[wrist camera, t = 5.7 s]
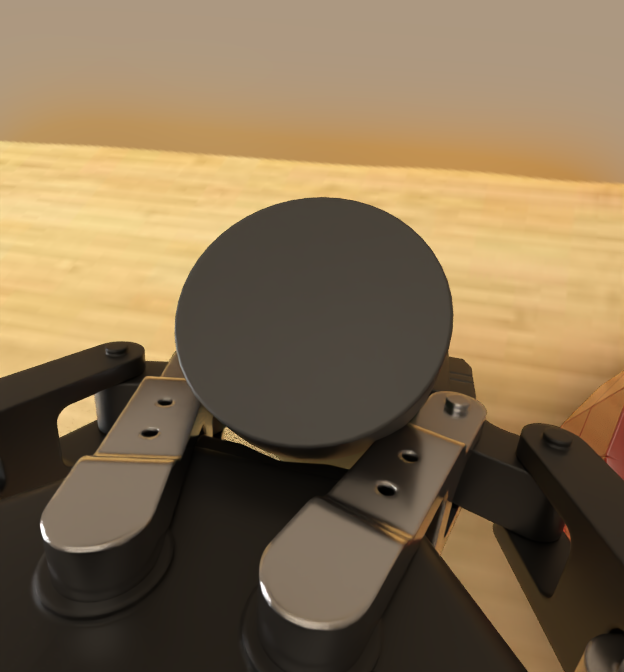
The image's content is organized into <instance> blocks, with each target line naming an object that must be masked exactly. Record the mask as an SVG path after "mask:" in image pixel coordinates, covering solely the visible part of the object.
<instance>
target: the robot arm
mask: <svg viewBox="0 0 624 672" xmlns="http://www.w3.org/2000/svg"><path fill="white" fill-rule="evenodd" d="M473 383H474V382H473V377H472V369H471V367H470V366H469V365H468V364H467V363H466V362H465V361H464V360H463V359H459V358H453V357H449V356H448V352H447V355H446V357H445V360H444V363H443V365H442V368H441V370H440V373H439V375H438V377H437V380H436V382H435V385H434V387H433V389H432V391H431V393H430V394H429V396H428V398H427V400H426V402H425V403H424V404H423V406H422V407H421V408H420V410H419V411H418V412H417V414H416V415H415V416H414V417H413V418H412V419H411V420H410V421H409V422H408V423H407V424H406V425H405V426H404V427H402V428H400V429H399V430H397V431H395V432H393V433H392V434H390V435H388V436H386V437H383V438H381V439H378V440H376V441H374V443H373V444H372V445H371V446H370V447H369V448H368V449H367V450H366V451H365V453H364V454H363V455H362V456H361V457H360V458H359V459H358V460H357V462H356V463H355V464H354V465H353V466H352V467H351V468H350V469H345V468H341V467H337V466H333V465H328V464H316V463H300V462H285V461H279V460H276V459H273V458H271V457H269V456H267V455H264V454H262V453H260V452H258V451H256V450H253V449H251V448H249V447H247V446H244V445H242V444H239V443H235V442H231V441H227V440H224V428H225V427H226V426H225V425H224V424H222V423H221V422H220V421H219V420H218V419H216V418H215V417H214V416H213V415H212V414H211V413H210V412H209V411H208V410H206V408H205V407H204V406H203V405H202V404H201V402H200V401H199V400H198V399H197V398H196V396H195V395H194V393H193V392H192V390H191V388H190V386H189V385H188V383H187V381H186V379H185V377H184V374H183V372H182V369H181V367H180V364H179V360H178V355H177V351H175V352H174V354H173V355H172V357H171V359H170V361H169V362H159V361H145V350H144V347H143V346H141V345H140V344H137V343H133V342H110V343H105V344H102V345H99V346H96V347H93V348H89V349H86V350H83V351H80V352H77V353H74V354H71V355H68V356H65V357H62V358H59V359H56V360H53V361H50V362H47V363H44V364H41V365H38V366H35V367H32V368H29V369H26V370H23V371H20V372H17V373H14V374H11V375H8V376H5V377H2V378H0V672H528V671H527V670H526V668H525V667H524V666H523V664H522V663H521V662H520V661H519V659H518V658H517V657H516V655H515V654H514V653H513V651H512V650H511V649H510V647H509V646H508V645H507V643H506V642H505V641H504V639H503V638H502V637H501V635H500V634H499V633H498V631H497V630H496V629H495V627H494V626H493V625H492V623H491V622H490V621H489V619H488V618H487V617H486V615H485V614H484V613H483V611H482V610H481V609H480V607H479V606H478V605H477V603H476V602H475V601H474V599H473V598H472V597H471V595H470V594H469V593H468V592H467V590H466V589H465V588H464V586H463V585H462V584H461V582H460V581H459V580H458V578H457V577H456V576H455V574H454V573H453V572H452V570H451V569H450V568H449V566H448V565H447V564H446V562H445V561H444V560H443V558H442V557H441V556H440V555H441V553H442V550H443V548H444V546H445V544H446V541H447V539H448V537H449V535H450V532H451V530H452V528H453V526H454V523H455V521H456V519H457V517H458V515H459V512H460V510H461V508H464V509H466V510H468V511H470V512H472V513H474V514H477V515H479V516H481V517H483V518H485V519H487V520H489V521H491V522H493V523H494V524H493V532H494V535H495V537H496V539H497V541H498V543H499V545H500V547H501V549H502V551H503V552H504V554H505V556H506V558H507V560H508V562H509V564H510V566H511V568H512V570H513V572H514V574H515V576H516V578H517V580H518V582H519V584H520V586H521V588H522V590H523V592H524V593H525V595H526V597H527V599H528V601H529V603H530V605H531V607H532V609H533V611H534V613H535V615H536V617H537V619H538V621H539V623H540V625H541V627H542V629H543V631H544V633H545V634H546V636H547V638H548V640H549V642H550V644H551V646H552V648H553V650H554V652H555V654H556V656H557V658H558V660H559V662H560V664H561V666H562V668H563V670H564V672H624V480H623V479H622V478H621V477H620V476H619V475H618V474H617V473H616V472H615V471H614V470H613V469H612V468H611V467H610V466H609V465H608V464H607V463H606V462H605V461H604V460H603V459H602V458H601V457H600V456H599V455H598V454H597V453H596V452H595V451H594V450H593V449H592V448H591V447H590V446H589V445H588V444H587V443H586V442H585V441H584V440H583V439H581V438H580V437H579V436H577V435H575V434H574V433H572V432H570V431H568V430H565V429H563V428H560V427H557V426H553V425H549V424H541V423H534V424H529V425H526V426H525V427H524V428H523V429H522V432H521V435H520V436H518V435H516V434H513V433H510V432H508V431H505V430H503V429H500V428H498V427H496V426H494V425H493V424H491V423H489V422H488V421H487V420H485V418H486V414H487V410H486V408H485V407H484V405H483V404H482V403H480V402H479V401H478V400H476V394H475V388H474V384H473ZM91 395H94V396H95V404H96V413H97V420H96V421H94V422H92V423H89V424H87V425H85V426H83V427H81V428H79V429H77V430H75V431H73V432H71V433H69V434H67V435H64V436H62V437H60V438H59V434H58V428H57V419H58V416H59V414H60V412H61V411H62V410H63V409H64V408H65V407H67V406H68V405H70V404H72V403H75V402H77V401H80V400H82V399H84V398H87V397H89V396H91ZM565 524H566V526H567V528H568V530H569V533H570V537H571V541H570V540H569V538H568V537H567V535H566V534H565V532H564V531H563V529H564V527H565Z"/></svg>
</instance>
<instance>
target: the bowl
mask: <svg viewBox="0 0 624 672" xmlns="http://www.w3.org/2000/svg"><path fill="white" fill-rule="evenodd" d="M561 428H563V429H565V430H568V431H570V432H572V433H574V434H575V435H577V436H579V437H580V438H581V439H583V440H584V441H585V442H586V443H587V444H588V445H589V446H590V447H591V448H592V449H593V450H594V451H595V452H596V453H597V454H598V455H599V456H600V457H601V458H602V459H603V460H604V461H605V462H606V463H607V464H608V465H609V466H610V467H611V468H612V469H613V470H614V471H615V472H616V473H617V474H618V475H619V476H620V477H621V478H622V479H623V480H624V370H623V371H622V372H620V373H619V374H617V375H616V376H614V377H613V378H611V379H610V380H608V381H607V382H605V383H604V384H603V385H601V386H600V387H599V388H598V389H597V390H596V391H595V392H594V393H593V394H592V395H591V396H590V397H589V398H588V399H587V400H586V401H585V402H584V403H583V404H582V405H581V406H580V407H579V408H578V409H577V410H576V411H575V412H574V413H573V414H572V415H571V416H570V417H569V418H568V419H567V420H566V421H565V422H564V423H563V425H562V426H561ZM563 531H564V532H565V534H566V535H567V537H568V538H569V540H570V541H571V537H570V533H569V530H568V528H567V526H566V524H565V527H564V529H563Z"/></svg>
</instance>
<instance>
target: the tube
mask: <svg viewBox="0 0 624 672" xmlns="http://www.w3.org/2000/svg"><path fill="white" fill-rule="evenodd" d="M452 329H453V305H452V296H451V292H450V288H449V284H448V281H447V278H446V276H445V273H444V271H443V268H442V266H441V264H440V263H439V261H438V259H437V258H436V256H435V254H434V253H433V251H432V250H431V249H430V247H429V246H428V245H427V244H426V242H425V241H424V240H423V239H422V238H421V237H420V236H419V235H418V234H417V233H416V232H415V231H414V230H413V229H412V228H410V227H409V226H408V225H406V224H405V223H404V222H402V221H401V220H400V219H398V218H396V217H394V216H393V215H391V214H389V213H387V212H385V211H383V210H381V209H378V208H376V207H373V206H371V205H368V204H364V203H361V202H357V201H353V200H347V199H341V198H327V197H318V198H304V199H297V200H291V201H287V202H283V203H279V204H275V205H273V206H270V207H267V208H265V209H262V210H259V211H257V212H255V213H253V214H251V215H249V216H247V217H245V218H244V219H242V220H241V221H239V222H237V223H236V224H234V225H233V226H231V227H230V228H229V229H227V230H226V231H225V232H224V233H222V234H221V235H220V236H219V237H218V238H217V239H216V240H215V241H214V242H213V243H212V244H211V245H210V246H209V247H208V248H207V249H206V250H205V252H204V253H203V254H202V255H201V256H200V258H199V259H198V260H197V262H196V264H195V265H194V267H193V268H192V270H191V271H190V273H189V275H188V278H187V280H186V282H185V284H184V286H183V289H182V292H181V295H180V298H179V301H178V306H177V311H176V316H175V343H176V351H177V355H178V360H179V364H180V367H181V369H182V372H183V374H184V377H185V379H186V381H187V383H188V385H189V386H190V388H191V390H192V392H193V393H194V395H195V396H196V398H197V399H198V400H199V401H200V402H201V404H202V405H203V406H204V407H205V408H206V410H208V411H209V412H210V413H211V414H212V415H213V416H214V417H215V418H216V419H218V420H219V421H220V422H221V423H222V424H224V425H225V426H226V427H228V428H229V429H230V430H232V431H233V432H234V433H236V434H237V435H238V436H240V437H241V438H243V439H244V440H246V441H247V442H249V443H250V444H252V445H254V446H256V447H258V448H260V449H262V450H264V451H266V452H269V453H272V454H274V455H275V456H276V457H278V458H279V459H280V460H281V461H285V462H300V463H316V464H328V465H333V466H337V467H341V468H345V469H350V468H351V467H352V466H353V465H354V464H355V463H356V462H357V460H358V459H359V458H360V457H361V456H362V455H363V454H364V453H365V451H366V450H367V449H368V448H369V447H370V446H371V445H372V444H373V443H374V441H376V440H378V439H381V438H383V437H386V436H388V435H390V434H392V433H393V432H395V431H397V430H399V429H400V428H402V427H404V426H405V425H406V424H407V423H408V422H409V421H410V420H411V419H412V418H413V417H414V416H415V415H416V414H417V412H418V411H419V410H420V408H421V407H422V406H423V404H424V403H425V402H426V400H427V398H428V396H429V394H430V393H431V391H432V389H433V387H434V385H435V382H436V380H437V377H438V375H439V373H440V370H441V368H442V365H443V363H444V360H445V357H446V355H447V352H448V349H449V345H450V340H451V336H452Z"/></svg>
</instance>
